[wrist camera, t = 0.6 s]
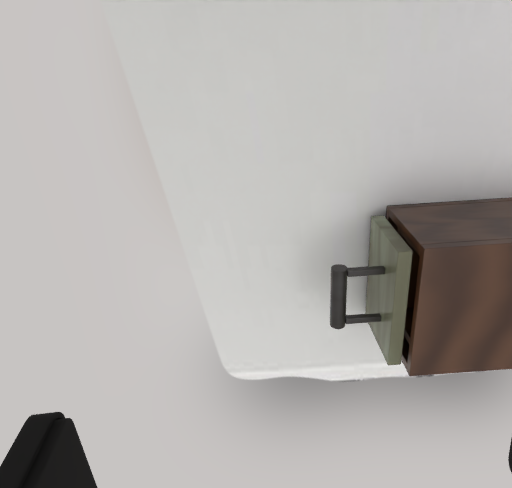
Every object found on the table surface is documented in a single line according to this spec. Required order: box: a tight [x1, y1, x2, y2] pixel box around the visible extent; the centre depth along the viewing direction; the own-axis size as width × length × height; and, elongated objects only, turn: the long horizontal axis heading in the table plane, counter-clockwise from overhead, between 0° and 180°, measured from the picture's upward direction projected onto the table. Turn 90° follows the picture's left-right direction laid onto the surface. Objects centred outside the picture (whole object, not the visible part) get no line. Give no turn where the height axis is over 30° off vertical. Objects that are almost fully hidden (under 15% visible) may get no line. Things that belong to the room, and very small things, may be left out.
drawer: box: [330, 216, 420, 365], centre depth 42 cm, size 18×11×8 cm, turn 93°
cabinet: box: [386, 198, 512, 376], centre depth 42 cm, size 15×13×10 cm
